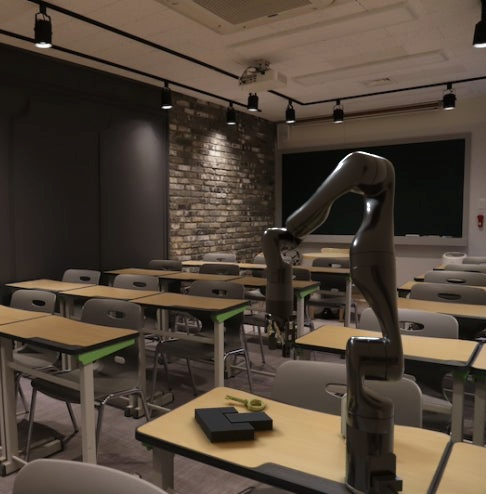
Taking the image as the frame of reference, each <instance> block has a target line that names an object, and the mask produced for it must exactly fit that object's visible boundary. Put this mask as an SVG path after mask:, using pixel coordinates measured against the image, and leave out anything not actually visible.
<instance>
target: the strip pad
mask: <svg viewBox="0 0 486 494" xmlns="http://www.w3.org/2000/svg"><path fill="white" fill-rule="evenodd" d="M224 416H225V417H226V418H227V419H228V421H229V422H230V423H231V424H232V423H249V424H250V425H251V426H252V427H253V428H254V429H255V432H263V431H264V432H266V431H267V432H268V431H273V430H274V420H273V419H272V417H271V416H270V415H268V414H267V413H266V412H265V411H249V412H247V411H246V412H239V413H229V414H224Z"/></svg>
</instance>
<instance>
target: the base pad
mask: <svg viewBox="0 0 486 494" xmlns="http://www.w3.org/2000/svg"><path fill="white" fill-rule="evenodd" d="M229 413H240V412H239V410H237V408H235V407H234V406H218V407H217V406H216V407H202V408H201V407H200V408H194V420H195V421H196V422H197V424H198V426H199V428H200V429H201V430H202V432H203V433H204V435H205V436H206V437H207V439H208V440H209V442H210V443H213V444H214V443H225V442H226V443H227V442H241V441H243V442H244V441H255V440H256V439H255V435H256V434H255V433H256V431H255V429H254V428H253V427H252V426H251V425H250V424H249V423H232V424H231V423H230V422H229V421H228V419H227V418H226V417H225V416H224V414H229Z"/></svg>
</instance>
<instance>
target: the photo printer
mask: <svg viewBox="0 0 486 494" xmlns="http://www.w3.org/2000/svg"><path fill="white" fill-rule="evenodd" d="M346 401H347V392H345V393H344V395H343V396H342V397H341V402H340V403H341V404H340V434H341V435H342V436H343V437H344V438H346Z"/></svg>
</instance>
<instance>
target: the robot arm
mask: <svg viewBox="0 0 486 494" xmlns="http://www.w3.org/2000/svg"><path fill="white" fill-rule="evenodd" d="M395 187H396V173H395V167H394V166H393V163H392V162H391V161H390V160H389V159H387V158H385V157H384V156H383V157H382V156H379V155H375V154H370V153H367V152H364V151H354V152H352V153H349V154H348V155H346V156H345V157H344V158H343V159H342V160H341V161H340V162H339V163H338V164H337V165H336V167H335V168H334V169H333V170H332V171H331V173H330V174H329V175H328V176H327V178H325V179H324V181H323V182H322V183H321V185H320V186H319V187H318V188H317V189H316V191H315V192H314V193H313V194H312V195H311V197H310V198H309V199H308V200H307V201H305V202H304V203H303V204H302V205H301V206H299V207H298V208H297V209H296V210H295V211H294V212H292V213H291V214H290V215H289V216H288V217H287V218H286V220H285V223H284V226H285V227H269V228H267V229H265V230H264V231H263V233H262V234H261V238H260V246H261V251H262V254H263V258H264V263H265V266H266V285H265V313H264V320H263V321H264V326H263V332H264V334H266V337H267V349H268V350H269V351H276V350H277V337H278V338H279V339H280V341H281V357H282V358H284V359H290V358H291V351H292V350H291V348H292V347H291V346H292V345H294V344H296V322H295V321H290V320H289V319H290V318H289V317H291V316H292V315H293V314H294V285H293V278H294V277H293V271H294V269H293V264H292V262H290V261H287V260H283V256H282V253H291V252H293V251H295V250H297V249H298V248H299V247H300V246H301V245H302V244H303V242H304V241H305V240H306V238H307V236H308V235H310V234H311V233H313V232H314V231H316V229H318V228H320V226H322V225H323V224H324V223H325V221H326V220H327V219H328V217H329V214H330V212H331V208H332V205H333V204H334V202H335V201H336V200H337V199H339V198H340V197H342V196H343V195H345V194H348V193H349V192H351V193H356V194H360V195H362V196H363V204H364V211H363V219H362V222H361V224H360V227H359V228H358V229H357V232H356V233H355V234H354V237H353V239H352V241H351V243H350V246H349V249H348V260H349V261H348V262H349V263H348V264H349V277H350V280H351V282H352V284H353V285H354V288H356V290H357V291H358V293H359V294H360V296H361V297H362V298H363V299H364V301H365V302H366V303H367V305H368V306H369V307H370V310H372V313H373V314H374V316H375V318H376V320H377V321H378V325H379V327H380V331H381V337H378V336H377V337H376V336H359V335H358V336H355V335H354V336H350V337H349V338H348V339H347V341H346V344H345V370H346V371H345V372H346V373H345V374H346V375H345V377H346V393H347V401H346V437H345V460H344V461H345V465H344V468H345V469H344V470H345V471H344V472H345V473H344V486H345V488H346V489H347V490H348V491H350V492H351V493H353V494H400V493H401V492H403V489H404V479H402V478H401V477H400V476H398V474H397V454H396V453H395V451H394V449H395V408H396V406H395V402H394V401H393V400H392V399H391V398H390V397H389V396H387V395H385V394H382V393H381V392H377V391H375V390H373V389H371V388H369V387H368V386H366V385H365V381H368V382H380V383H381V382H383V383H399V382H401V381H402V379H403V377H404V375H405V355H404V354H405V353H404V346H403V338H402V332H401V325H400V323H401V322H400V317H399V316H400V315H399V308H398V287H397V284H398V283H397V281H398V280H397V258H396V248H395V229H394V228H395V225H394V204H395V203H394V202H395Z"/></svg>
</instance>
